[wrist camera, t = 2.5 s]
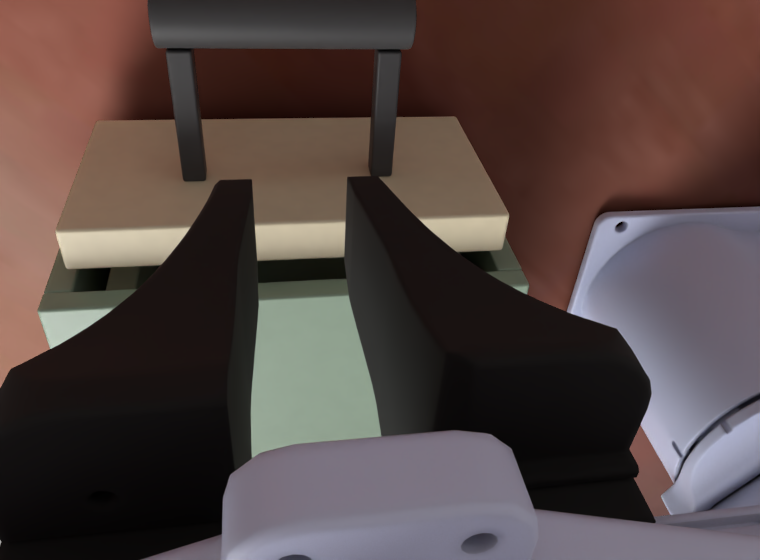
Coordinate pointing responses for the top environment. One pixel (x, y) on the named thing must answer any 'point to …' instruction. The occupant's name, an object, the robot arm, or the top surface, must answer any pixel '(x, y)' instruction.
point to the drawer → (272, 152)
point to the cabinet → (276, 348)
